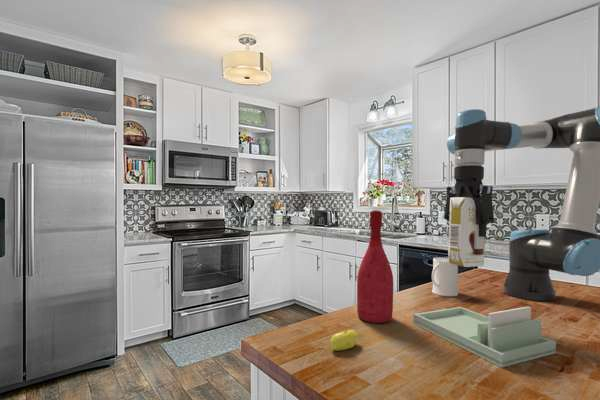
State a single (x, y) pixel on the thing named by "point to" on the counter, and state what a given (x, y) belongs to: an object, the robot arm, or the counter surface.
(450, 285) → the mug
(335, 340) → the lemon
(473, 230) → the juice carton
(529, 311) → the dish rack
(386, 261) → the wine bottle
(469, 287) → the counter surface
